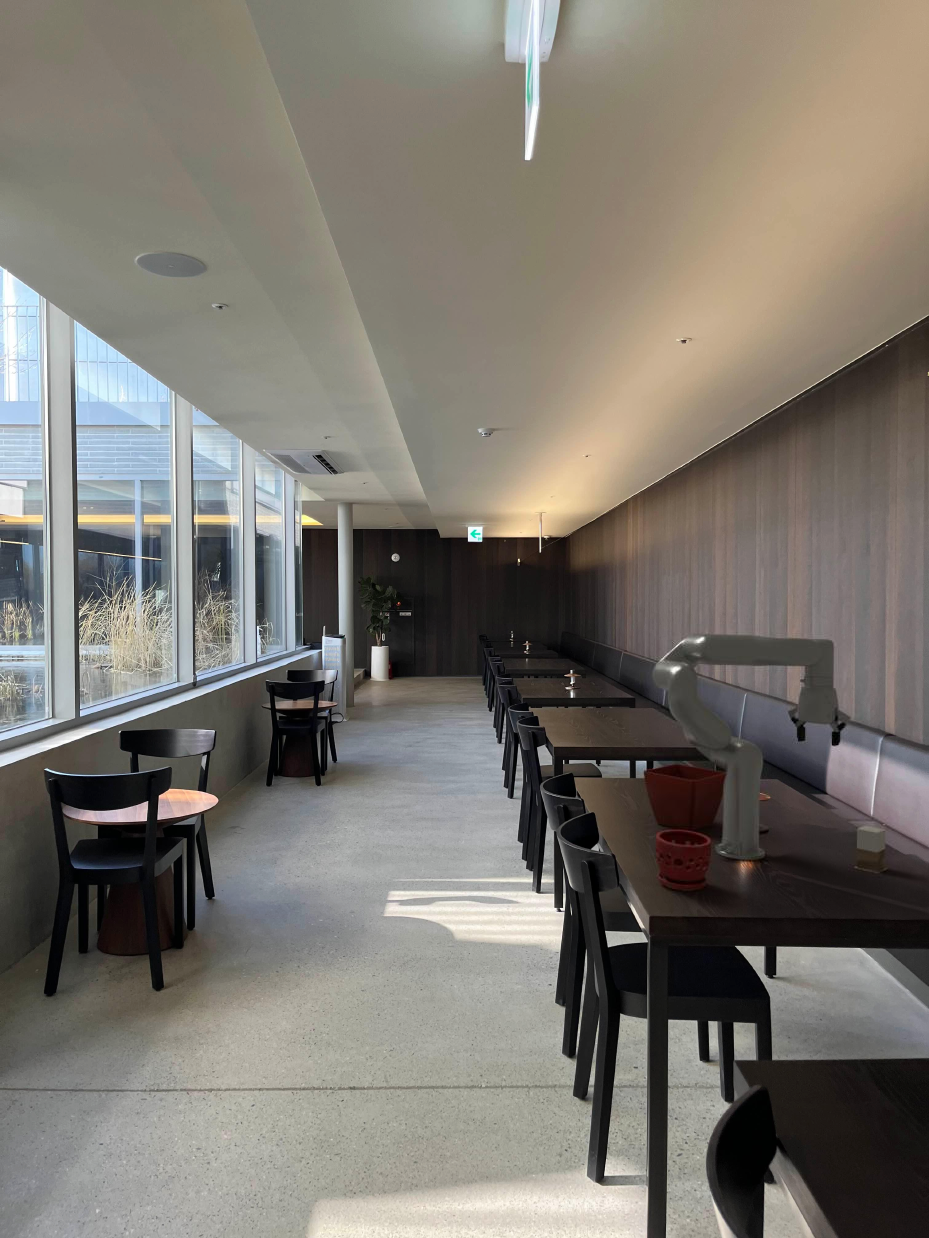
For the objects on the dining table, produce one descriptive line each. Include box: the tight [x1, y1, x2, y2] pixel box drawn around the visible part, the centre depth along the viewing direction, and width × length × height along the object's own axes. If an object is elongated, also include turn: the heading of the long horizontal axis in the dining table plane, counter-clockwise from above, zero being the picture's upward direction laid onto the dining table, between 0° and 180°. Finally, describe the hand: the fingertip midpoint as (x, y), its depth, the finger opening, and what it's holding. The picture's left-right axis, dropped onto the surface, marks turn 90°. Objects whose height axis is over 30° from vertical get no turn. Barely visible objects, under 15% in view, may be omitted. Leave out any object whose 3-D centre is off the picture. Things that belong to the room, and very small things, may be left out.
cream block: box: [856, 825, 886, 852], centre depth 208 cm, size 5×5×5 cm
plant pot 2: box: [655, 829, 712, 892], centre depth 196 cm, size 13×13×12 cm
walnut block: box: [856, 847, 886, 873], centre depth 207 cm, size 5×5×5 cm
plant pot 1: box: [643, 763, 727, 832], centre depth 253 cm, size 19×19×17 cm
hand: (818, 743), depth 226 cm, fingers open, 9 cm apart
